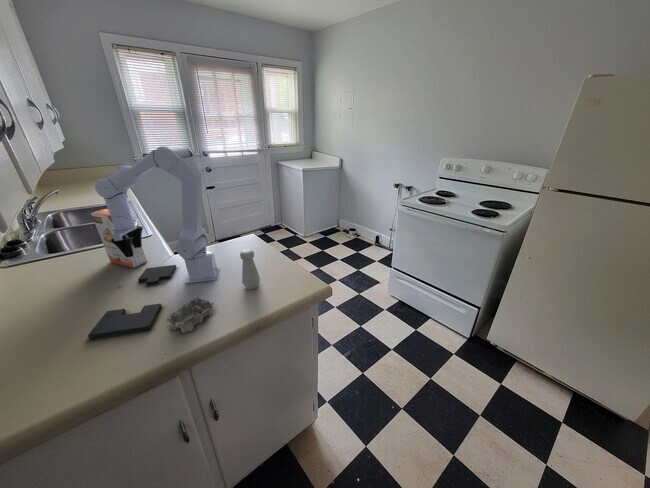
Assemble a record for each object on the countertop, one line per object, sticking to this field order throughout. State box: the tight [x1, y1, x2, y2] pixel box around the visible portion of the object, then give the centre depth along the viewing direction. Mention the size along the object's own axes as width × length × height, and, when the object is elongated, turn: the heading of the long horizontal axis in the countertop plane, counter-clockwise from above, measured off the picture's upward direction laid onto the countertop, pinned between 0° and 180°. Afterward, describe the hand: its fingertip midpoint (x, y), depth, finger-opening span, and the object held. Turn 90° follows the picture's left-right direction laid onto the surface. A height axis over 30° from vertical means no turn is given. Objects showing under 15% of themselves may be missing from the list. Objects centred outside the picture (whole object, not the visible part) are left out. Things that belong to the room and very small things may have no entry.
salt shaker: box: [239, 248, 261, 291], centre depth 87 cm, size 6×6×13 cm
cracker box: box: [90, 208, 148, 269], centre depth 102 cm, size 14×6×21 cm, turn 67°
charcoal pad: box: [87, 303, 163, 341], centre depth 74 cm, size 14×10×2 cm
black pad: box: [137, 264, 177, 287], centre depth 96 cm, size 10×11×2 cm
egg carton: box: [166, 295, 215, 334], centre depth 74 cm, size 11×8×4 cm
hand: (134, 251), depth 94 cm, fingers open, 7 cm apart
